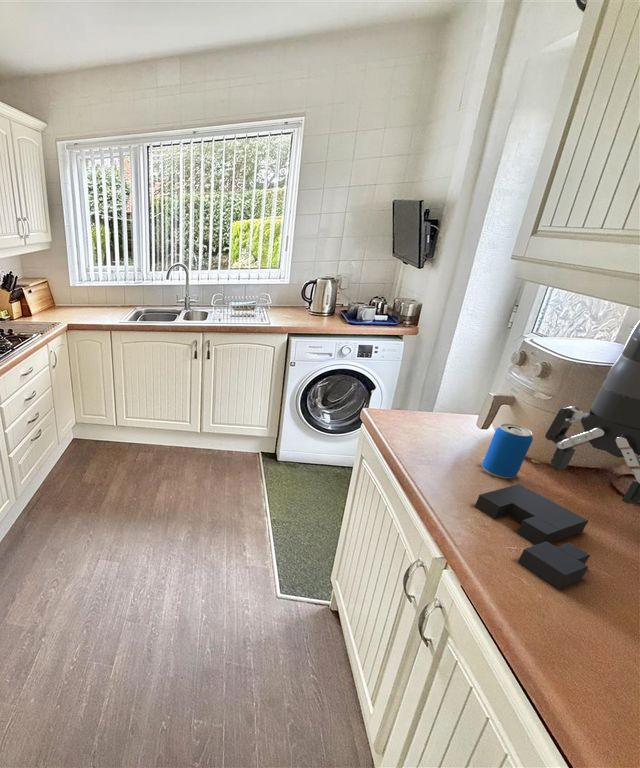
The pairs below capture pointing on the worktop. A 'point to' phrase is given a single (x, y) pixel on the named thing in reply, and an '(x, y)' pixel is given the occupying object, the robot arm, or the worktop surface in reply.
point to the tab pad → (555, 562)
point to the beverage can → (507, 450)
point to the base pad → (532, 514)
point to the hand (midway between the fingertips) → (591, 484)
